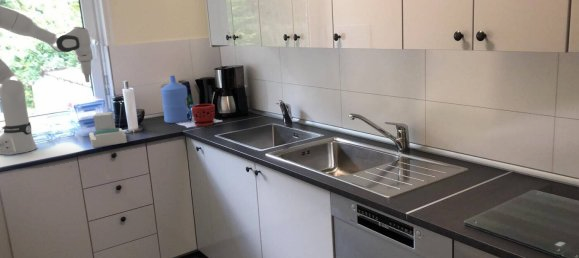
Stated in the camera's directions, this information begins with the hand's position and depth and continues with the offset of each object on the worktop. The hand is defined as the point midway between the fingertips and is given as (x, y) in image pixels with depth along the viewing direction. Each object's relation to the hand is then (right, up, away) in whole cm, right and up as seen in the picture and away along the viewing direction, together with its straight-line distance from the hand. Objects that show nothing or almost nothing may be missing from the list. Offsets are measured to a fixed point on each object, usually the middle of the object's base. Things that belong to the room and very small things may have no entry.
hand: (87, 82), depth 291 cm
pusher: (+16, -33, -11) cm, 39 cm away
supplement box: (+13, -33, -5) cm, 35 cm away
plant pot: (+62, -24, +18) cm, 69 cm away
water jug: (+42, -21, +36) cm, 59 cm away
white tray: (+14, -33, -7) cm, 36 cm away
